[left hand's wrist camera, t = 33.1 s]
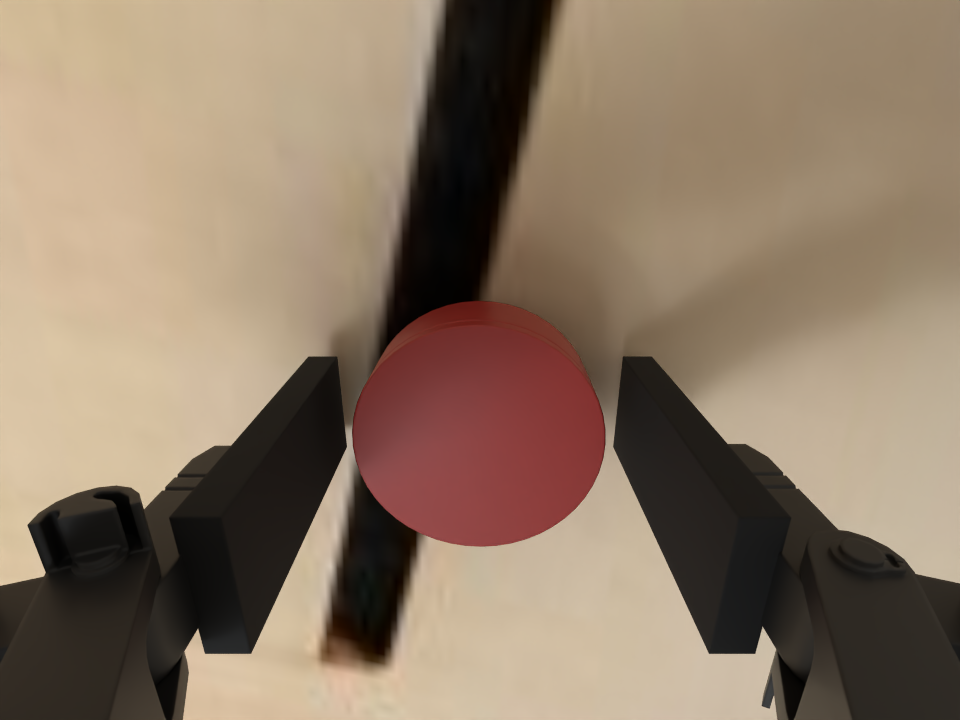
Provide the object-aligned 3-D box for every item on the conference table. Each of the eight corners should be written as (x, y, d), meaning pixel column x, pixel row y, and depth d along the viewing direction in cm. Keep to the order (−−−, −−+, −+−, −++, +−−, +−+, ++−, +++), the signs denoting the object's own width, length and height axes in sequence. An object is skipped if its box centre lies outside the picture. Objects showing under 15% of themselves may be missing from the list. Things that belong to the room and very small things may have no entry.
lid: (537, 522, 15) (543, 575, 13) (345, 458, 14) (323, 503, 12) (629, 348, 13) (652, 381, 11) (411, 265, 12) (396, 284, 10)
